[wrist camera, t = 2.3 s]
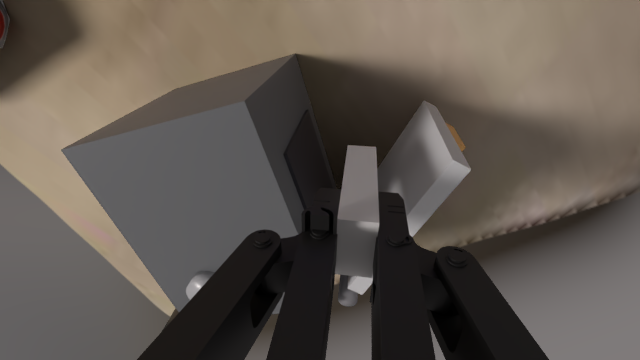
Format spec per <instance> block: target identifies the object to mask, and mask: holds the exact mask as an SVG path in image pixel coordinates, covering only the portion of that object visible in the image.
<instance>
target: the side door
mask: <svg viewBox="0 0 640 360" xmlns="http://www.w3.org/2000/svg"><path fill="white" fill-rule="evenodd" d="M465 148H466V147H465V145H464V144H463V142H462V140H461V139H460V137H459V135H458V134H457V132H456V130H455V129H454V127H453V126H451V125H449V124H447V123H445V121H444V120H443V118H442V116H441V114H440V112H439V111H438V109H437V107H436V106H434V105H432V104H430V103H428V102H427V101H425V100H424V101H423V102H422V104H421V105H420V107H419V108H418V110H417V111H416V112H415V114H414V115H413V117H412V118H411V120H410V121H409V123H408V124H407V126H406V127H405V129H404V130H403V132H402V133H401V135H400V136H399V137H398V139H397V140H396V142H395V143H394V145H393V146H392V148H391V149H390V151H389V152H388V154H387V155H386V157H385V158H384V159H383V161H382V162H381V164H380V165H379V167H378V168H377V178H378V191H379V192H392V193H399V195H400V196H401V197H402V198H403V199H404V204H405V210H406V216H407V222H408V229H409V235H410V236H412V237H413V236H414V235H415V234H416V232H417V231H418V230H419V229H420V228H421V227H422V226H423V224H424V223H425V222H426V221H427V220H428V219H429V218H430V216H431V215H432V214H433V213H434V212H435V211H436V210H437V208H438V207H439V206H440V205H441V204H442V203H443V202H444V200H445V199H446V198H447V197H448V196H449V195H450V194H451V192H452V191H453V190H454V189H455V188H456V187H457V186H458V184H459V183H460V182H461V181H462V180H463V179H464V178H465V176H466V175H467V174H468V173H469V172H470V171H471V168H470V166H469V164H468V162H467V161H466V159H465V157H464V155H463V154H462V151H463V150H464V149H465ZM372 281H373V275H372V278H368V277H358V276H349V275H340V284H339V295H338V301H339V302H340V304H342V305H344V306H354V305H355V304H356V303H357V297H358V293H359V294H361V295H362V294H363V293H364V292H365V291H366V290H367V288H368V287H369V286H370V285H371V284H372Z"/></svg>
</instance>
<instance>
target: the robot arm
mask: <svg viewBox="0 0 640 360" xmlns="http://www.w3.org/2000/svg"><path fill="white" fill-rule="evenodd" d="M301 217H302V232H301V233H300V234H298V235H296V236H293V237H288V238H280V236H279V235H278V233H276V232H274V231H272V230H265V229H264V230H258V231H255V232H253V233H251V234H250V235H248V236H247V237H246V238H245V239H244V240H243V242H242V243H241V244H240V245H239V246H238V247H237V248H236V249H235V251H234V252H233V253H232V254H231V255H230V256H229V257H228V258H227V259H226V261H225V262H224V263H223V264H222V265H221V266H220V267H219V268H218V270H217V271H216V272H215V273H214V274H213V275H212V276H211V277H210V279H209V280H208V281H207V282H206V283H205V284H204V285H203V286H202V287H201V289H200V290H199V291H198V292H197V293H196V294H195V295H194V296H193V298H192V299H191V300H190V301H189V302H188V303H187V304H186V305H185V306H184V308H183V309H182V310H181V311H180V312H179V313H178V314H177V315H176V317H175V318H174V319H173V320H172V321H171V322H170V323H169V324H168V325H167V327H166V328H165V329H164V330H163V331H162V332H161V333H160V335H159V336H158V337H157V338H156V339H155V340H154V341H153V342H152V343H151V345H150V346H149V347H148V348H147V349H146V350H145V351H144V352H143V353H142V355H141V356H140V357H139V358H138V359H137V360H244V359H245V357H246V356H247V354H248V352H249V351H250V349H251V347H252V346H253V344H254V342H255V341H256V339H257V337H258V336H259V334H260V332H261V331H262V329H263V327H264V326H265V324H266V322H267V321H268V319H269V317H270V316H271V314H272V312H273V311H274V309H275V307H276V306H277V304H278V302H279V301H280V299H281V298H282V296H283V293H284V292H285V294H284V297H283V301H282V305H281V308H280V312H279V316H278V319H277V323H276V326H275V330H274V333H273V337H272V341H271V344H270V348H269V351H268V355H267V359H266V360H325V358H326V349H327V341H328V331H329V324H330V315H331V306H332V298H333V290H334V277H335V274H340V275H349V276H358V277H368V278H372V275H373V281H372V289H371V296H370V302H372V360H435V354H434V348H433V342H432V337H431V331H430V325H431V328H432V330H433V332H434V334H435V337H436V339H437V341H438V343H439V345H440V348H441V350H442V352H443V354H444V357H445V359H446V360H549V359H548V358H547V356H546V355H545V353H544V352H543V351H542V349H541V348H540V347H539V345H538V344H537V342H536V341H535V340H534V338H533V337H532V336H531V334H530V333H529V332H528V330H527V329H526V327H525V326H524V325H523V323H522V322H521V320H520V319H519V318H518V316H517V315H516V314H515V312H514V311H513V310H512V308H511V307H510V305H509V304H508V303H507V301H506V300H505V299H504V297H503V296H502V294H501V293H500V292H499V290H498V289H497V288H496V286H495V285H494V283H493V282H492V281H491V279H490V278H489V277H488V275H487V274H486V273H485V271H484V270H483V268H482V267H481V266H480V264H479V263H478V261H477V260H476V259H475V258H474V257H473V256H472V255H471V254H470V253H469V252H467V251H466V250H464V249H461V248H458V247H452V246H447V247H443V248H441V249H440V250H438V252H437V253H435V252H432V251H429V250H426V249H424V248H421V247H420V246H418V245H417V244H415V241H414V239H413V237H412V236H410V235H409V229H408V222H407V216H406V210H405V204H404V199H403V198H402V197H401V196H400V195H399V193H392V192H379V191H378V178H377V154H376V147H370V146H355V145H348V147H347V154H346V161H345V168H344V175H343V182H342V189H333V188H320V189H319V190H318V191H317V192H316V193H315V196H314V201H313V204H312V206H310V207H308V208H306V209H305V210H304V211H303V212H302V214H301ZM429 323H430V325H429Z"/></svg>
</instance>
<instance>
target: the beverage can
mask: <svg viewBox="0 0 640 360" xmlns="http://www.w3.org/2000/svg"><path fill="white" fill-rule="evenodd" d="M9 22H10V18H9V16H8V13H7V11H6V9H5V6H4V3H3V1H2V0H0V48H4V47H3V45H4V44H5V41H4V40H6V36H7V32H8V27H9Z"/></svg>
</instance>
